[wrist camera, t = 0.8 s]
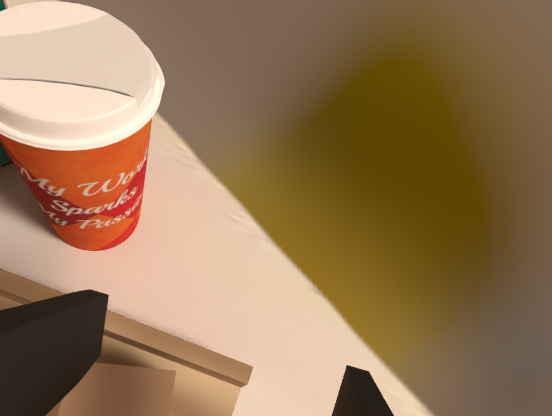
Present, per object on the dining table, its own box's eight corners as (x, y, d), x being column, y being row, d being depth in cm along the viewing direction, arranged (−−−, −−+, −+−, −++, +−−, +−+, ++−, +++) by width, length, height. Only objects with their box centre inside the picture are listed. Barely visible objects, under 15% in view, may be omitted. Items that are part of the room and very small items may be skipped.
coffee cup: (43, 280, 26) (-45, 141, 14) (27, 178, 30) (-57, -11, 17) (168, 249, 30) (187, 117, 17) (143, 161, 33) (143, -5, 21)
